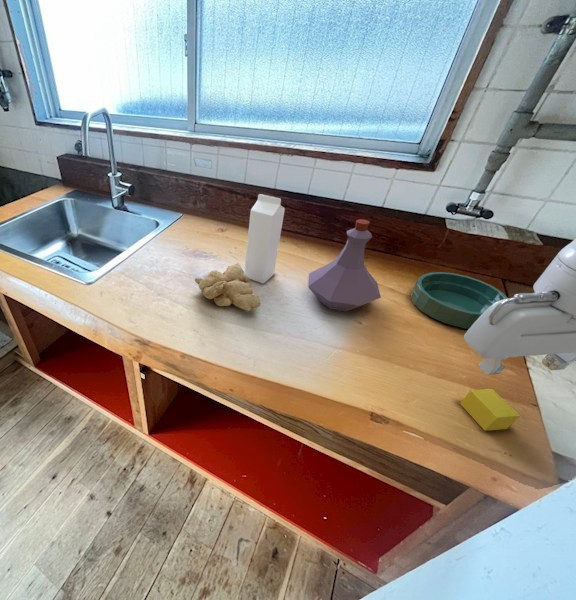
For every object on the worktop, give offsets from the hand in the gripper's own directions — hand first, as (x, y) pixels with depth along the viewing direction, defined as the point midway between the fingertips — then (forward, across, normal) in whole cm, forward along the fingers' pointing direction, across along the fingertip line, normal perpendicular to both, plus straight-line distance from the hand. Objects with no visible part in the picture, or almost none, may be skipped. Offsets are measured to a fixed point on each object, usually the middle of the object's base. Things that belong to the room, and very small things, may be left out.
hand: (519, 368), depth 46 cm
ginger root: (+12, -35, +36) cm, 52 cm away
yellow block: (+11, 0, 0) cm, 11 cm away
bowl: (+11, +16, +26) cm, 33 cm away
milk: (+12, -24, +46) cm, 53 cm away
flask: (+12, -8, +32) cm, 35 cm away
